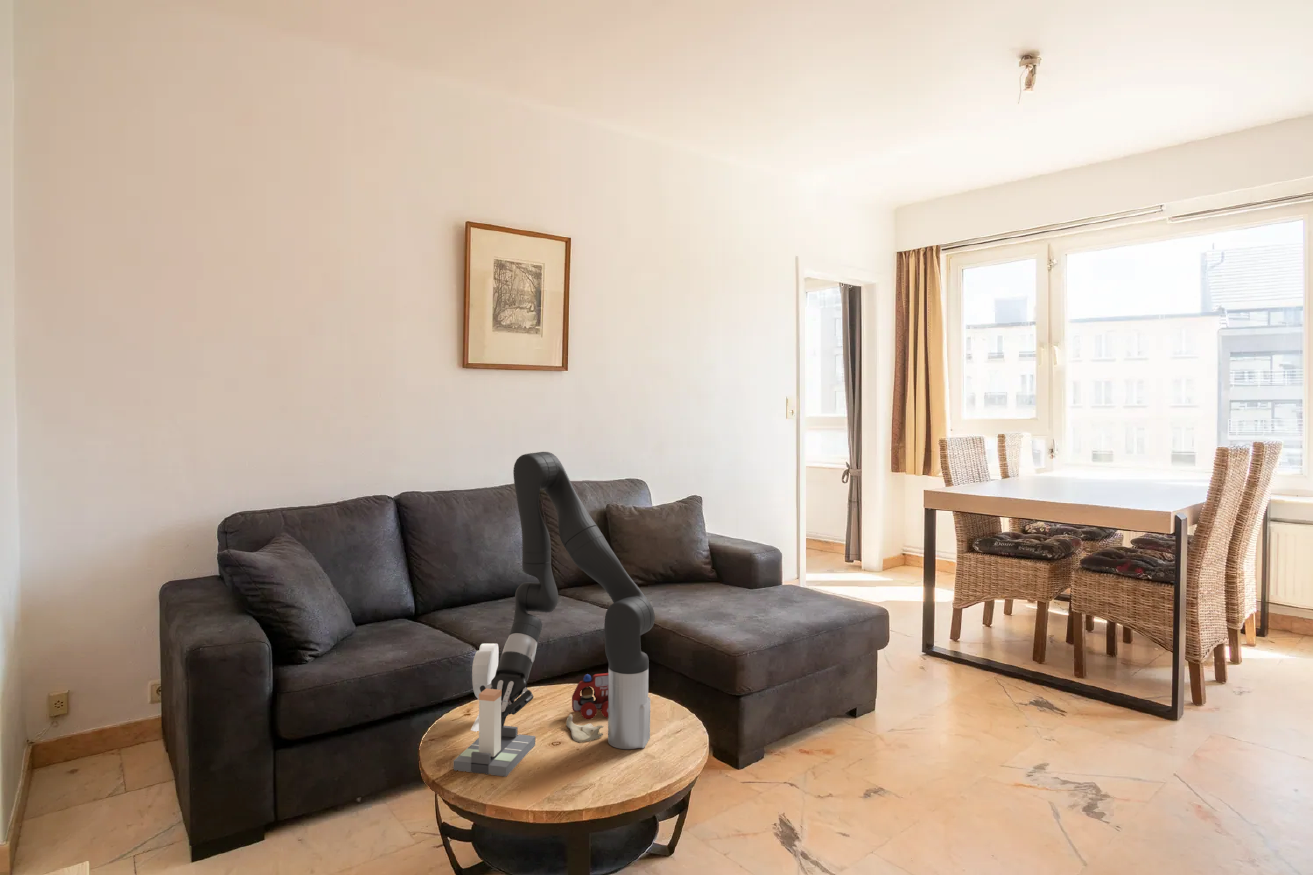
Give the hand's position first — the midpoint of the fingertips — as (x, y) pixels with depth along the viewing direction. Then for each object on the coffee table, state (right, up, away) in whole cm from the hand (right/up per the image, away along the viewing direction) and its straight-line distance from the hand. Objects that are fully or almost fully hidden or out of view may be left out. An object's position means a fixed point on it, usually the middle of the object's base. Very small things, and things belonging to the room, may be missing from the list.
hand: (494, 730), depth 169 cm
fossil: (+18, -7, +15) cm, 24 cm away
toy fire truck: (+20, -6, +26) cm, 33 cm away
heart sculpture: (-7, -6, +21) cm, 23 cm away
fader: (-1, -4, -2) cm, 5 cm away
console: (0, -6, +1) cm, 6 cm away
